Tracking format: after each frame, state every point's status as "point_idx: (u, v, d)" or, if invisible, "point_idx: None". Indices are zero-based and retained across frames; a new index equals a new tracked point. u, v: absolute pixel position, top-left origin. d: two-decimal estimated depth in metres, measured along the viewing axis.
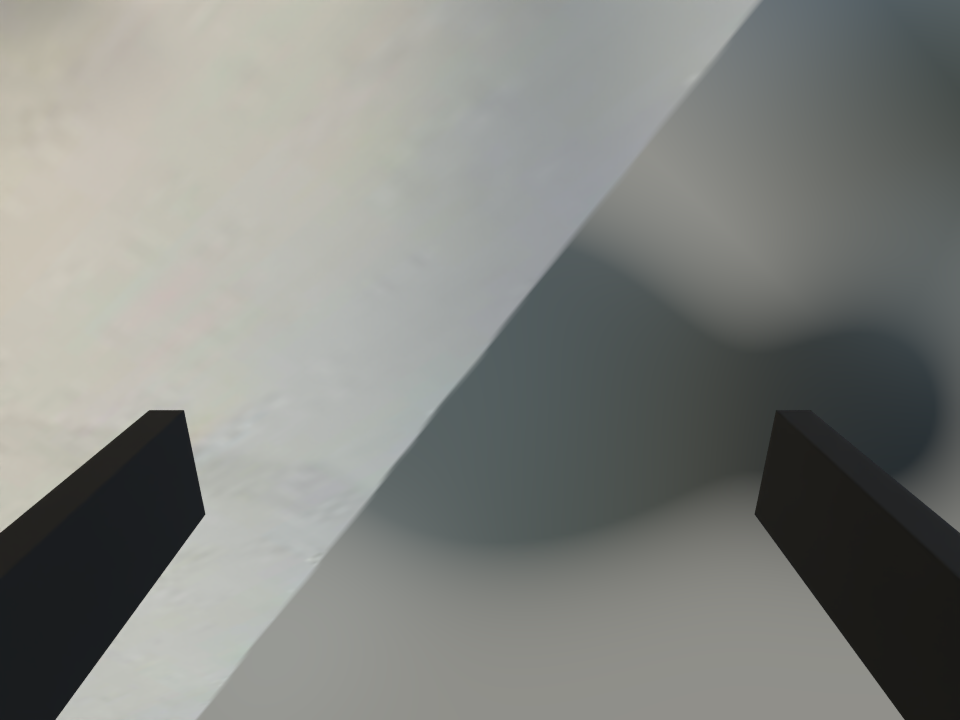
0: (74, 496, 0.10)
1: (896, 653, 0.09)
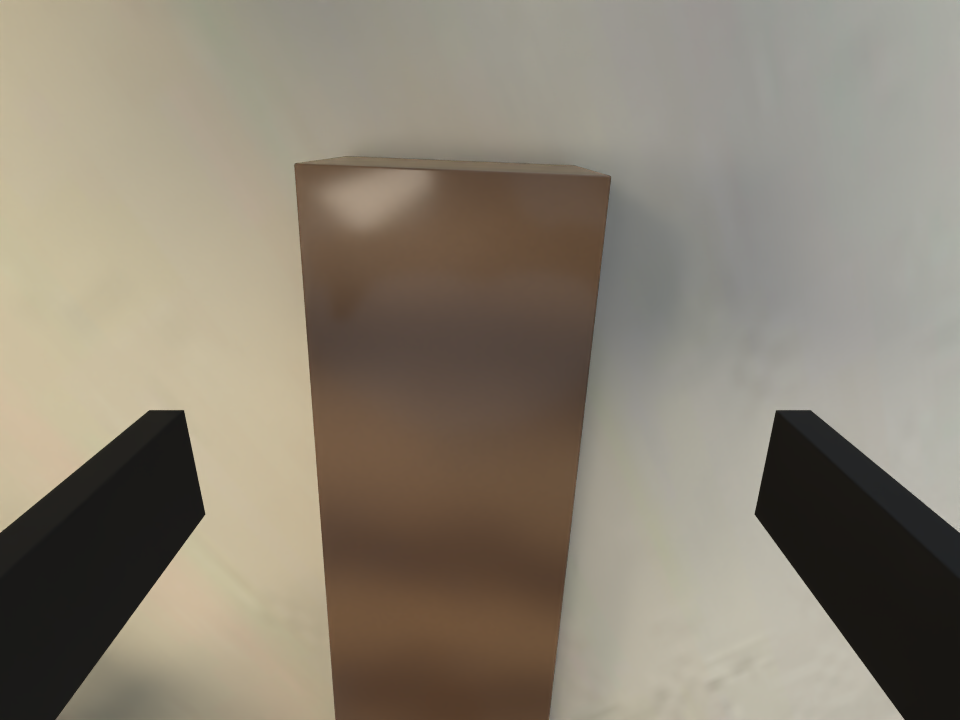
0: (74, 496, 0.10)
1: (898, 653, 0.09)
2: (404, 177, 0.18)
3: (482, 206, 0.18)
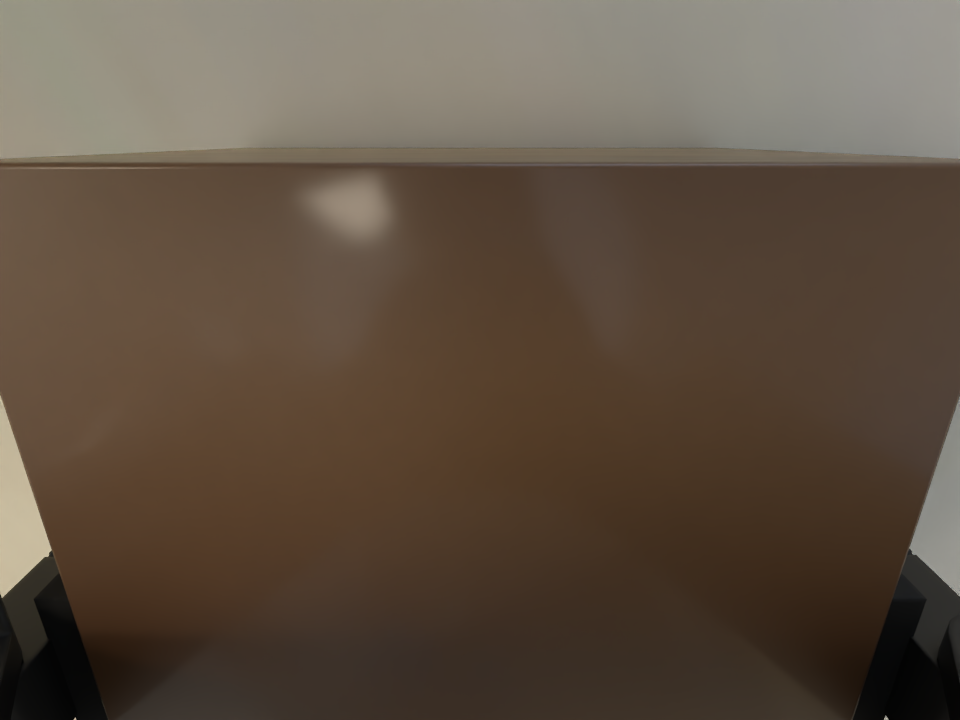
0: None
1: None
2: (311, 196, 0.05)
3: (580, 282, 0.06)
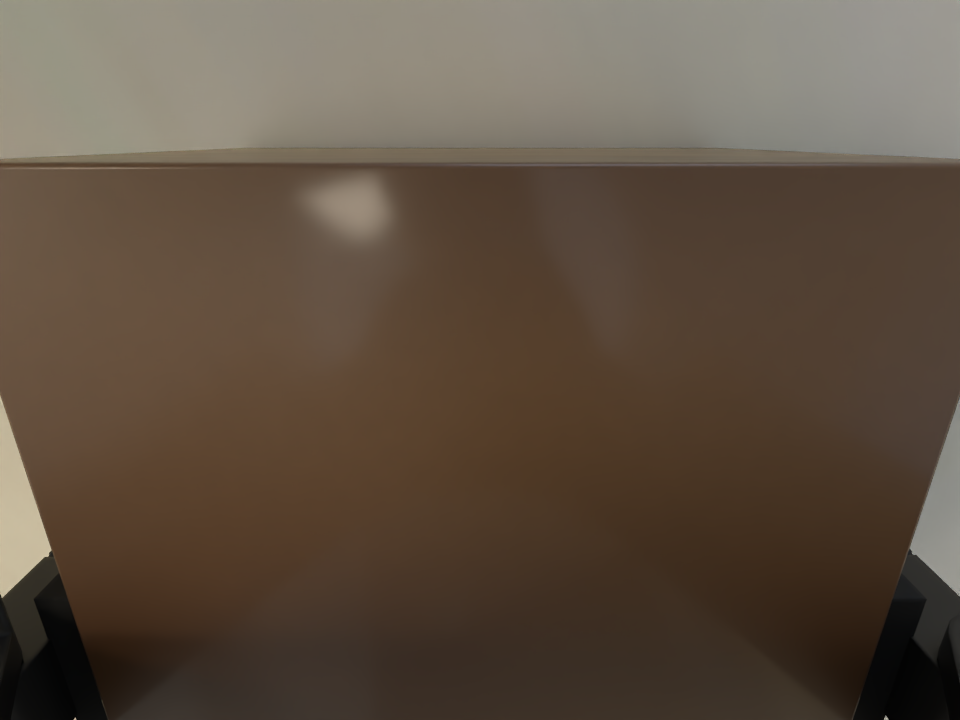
0: None
1: None
2: (311, 197, 0.05)
3: (580, 283, 0.06)
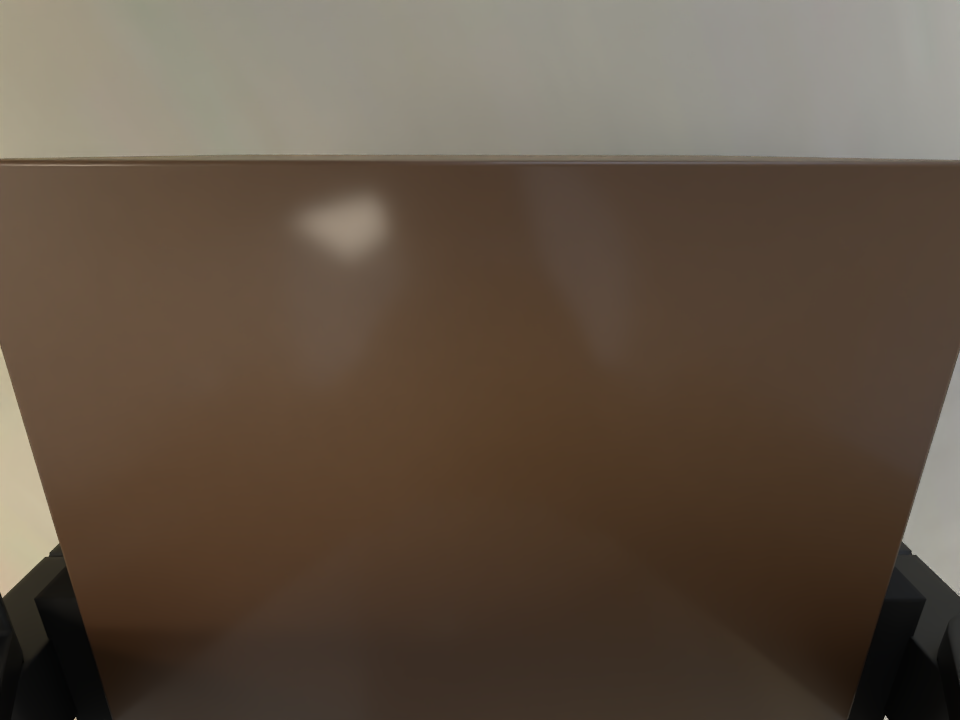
0: None
1: None
2: (319, 193, 0.05)
3: (578, 278, 0.06)
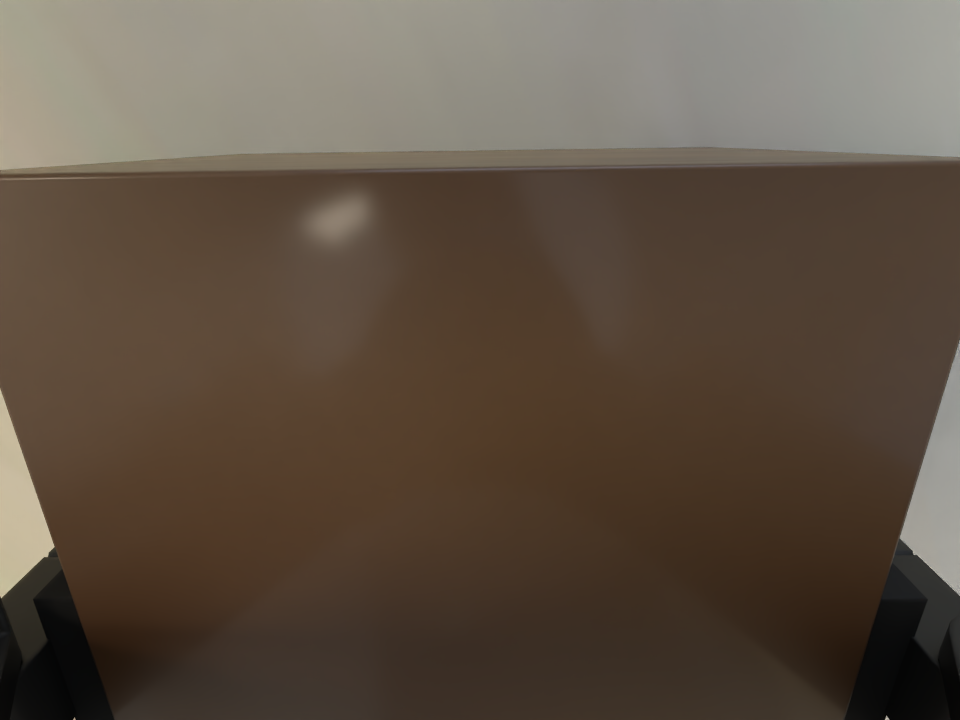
0: None
1: None
2: (305, 202, 0.05)
3: (568, 283, 0.06)
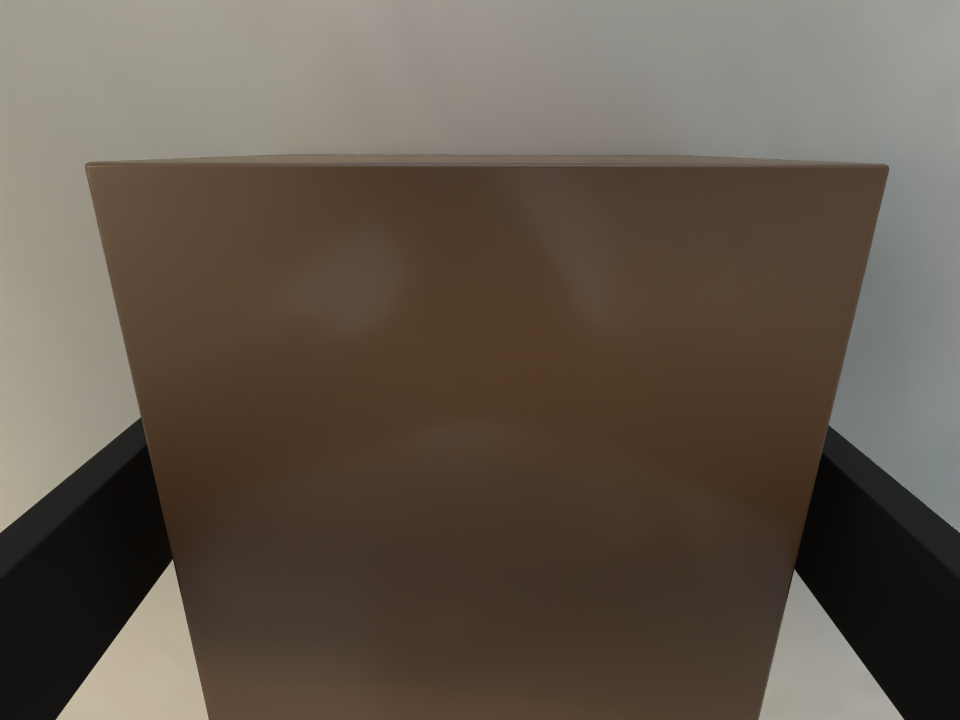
0: (74, 496, 0.10)
1: (897, 653, 0.09)
2: (362, 187, 0.07)
3: (559, 253, 0.07)
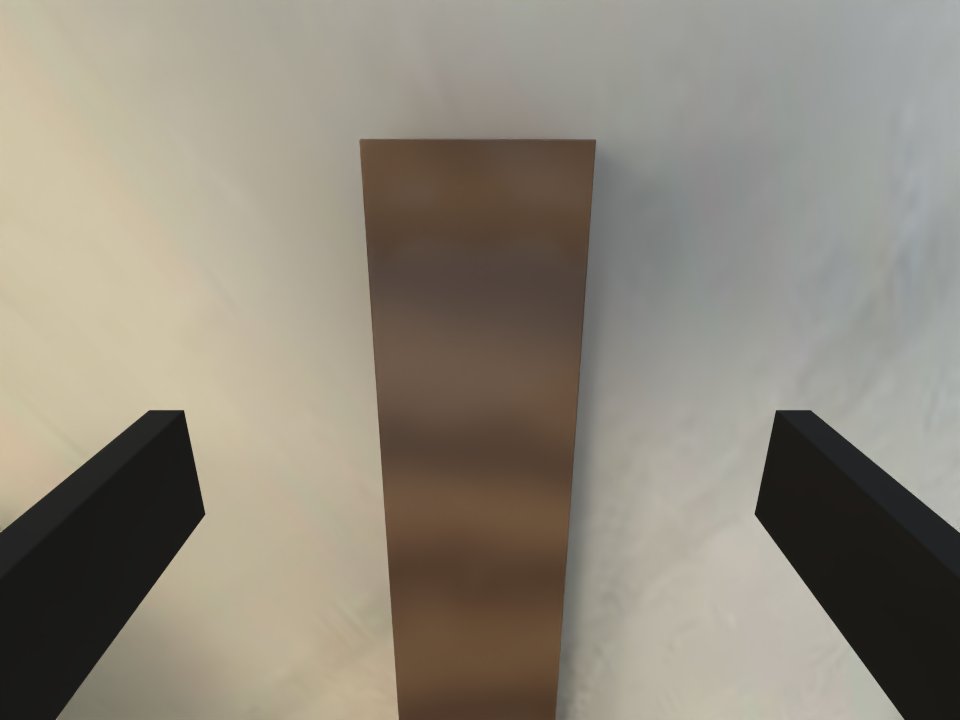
0: (74, 496, 0.10)
1: (898, 653, 0.09)
2: (441, 146, 0.24)
3: (500, 166, 0.25)
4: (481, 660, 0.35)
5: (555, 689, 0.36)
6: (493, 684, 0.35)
